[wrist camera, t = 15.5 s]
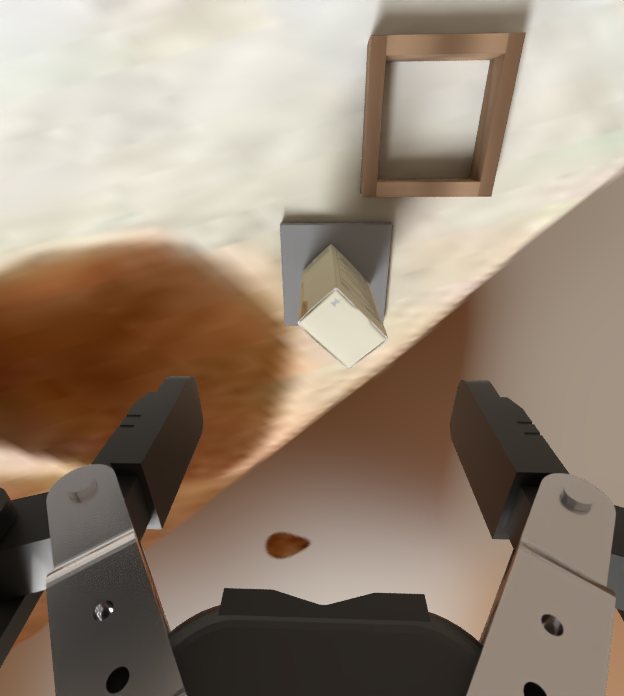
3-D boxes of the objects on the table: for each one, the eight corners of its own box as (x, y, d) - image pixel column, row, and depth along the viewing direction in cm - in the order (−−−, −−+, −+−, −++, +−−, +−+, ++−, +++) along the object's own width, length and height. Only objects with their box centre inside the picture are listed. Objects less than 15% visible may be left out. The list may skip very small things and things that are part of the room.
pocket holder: (360, 192, 37) (362, 196, 34) (367, 43, 31) (371, 35, 28) (479, 192, 36) (491, 196, 34) (508, 41, 31) (525, 32, 28)
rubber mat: (285, 321, 44) (284, 325, 43) (281, 222, 38) (280, 225, 37) (381, 321, 43) (383, 326, 42) (390, 222, 38) (392, 224, 37)
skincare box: (301, 270, 39) (291, 321, 29) (331, 241, 38) (333, 283, 27) (342, 311, 42) (348, 372, 31) (373, 285, 40) (390, 340, 29)
